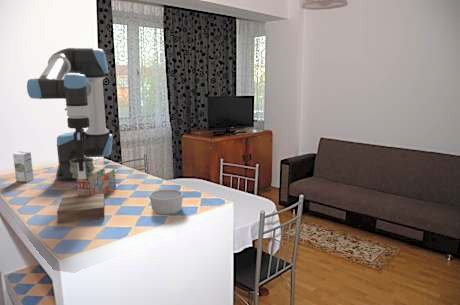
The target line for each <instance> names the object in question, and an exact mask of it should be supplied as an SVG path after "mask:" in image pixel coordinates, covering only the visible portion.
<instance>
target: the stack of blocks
mask: <svg viewBox="0 0 460 305" xmlns="http://www.w3.org/2000/svg"><path fill="white" fill-rule="evenodd" d="M92 173H93V176H91V177H89V178H86V179H77V181H76V188H77V196H83V195H94V194H104V195H106V194H107V193H109V192H110V191H113V190H114V189H115V188H116V187H117V184H116V181H117V180H116V170H115V168H108V167H106V168H105V167H102V166H101V167H98V166H97V167H96V166H94V171H93V172H92Z"/></svg>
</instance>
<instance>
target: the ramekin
mask: <svg viewBox="0 0 460 305" xmlns="http://www.w3.org/2000/svg"><path fill="white" fill-rule="evenodd" d="M183 198H184V192H183V191H181V190H178V189H176V188H175V189H174V188H163V189H158V190H154V191H152V192H150V194H149V200H150V205H151V206H150V207H151V210H152V212H154V213H155V214H157V215H161V216H169V215H174V214H177V213H179V212H180V211H181V209H182V207H183Z"/></svg>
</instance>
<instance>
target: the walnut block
mask: <svg viewBox="0 0 460 305" xmlns="http://www.w3.org/2000/svg"><path fill="white" fill-rule="evenodd" d="M105 203H106V202H105V194H94V195H83V196H78V195H73V196H63V197H61V199H60V202H59V205H58V208H57V211H56V214H57V224H67V223H77V222H86V221H94V220H104V219H105V208H106V207H105V205H106V204H105Z"/></svg>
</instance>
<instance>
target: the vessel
mask: <svg viewBox="0 0 460 305" xmlns="http://www.w3.org/2000/svg"><path fill="white" fill-rule="evenodd" d="M84 160H85V170H86V178H89V177H91V176H93V173H92V172H93V171H94V167H95V165H94V158H93V157H86V158H84ZM75 161H76V158H75V159H72V160H70V161H69V162H70V163H71V166H70V172H71V173H72V174H73V175H72V177H73V178H76V179H78V170H77V163H75Z"/></svg>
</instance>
